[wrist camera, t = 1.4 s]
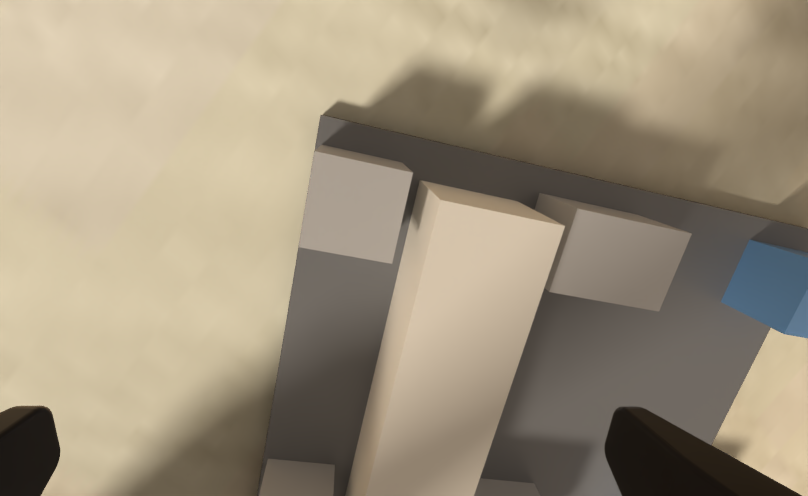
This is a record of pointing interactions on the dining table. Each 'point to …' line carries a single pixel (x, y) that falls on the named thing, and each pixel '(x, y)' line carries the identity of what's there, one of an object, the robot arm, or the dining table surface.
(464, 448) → the long white plank
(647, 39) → the dining table surface
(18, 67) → the dining table surface
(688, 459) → the robot arm
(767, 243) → the miniature block city
